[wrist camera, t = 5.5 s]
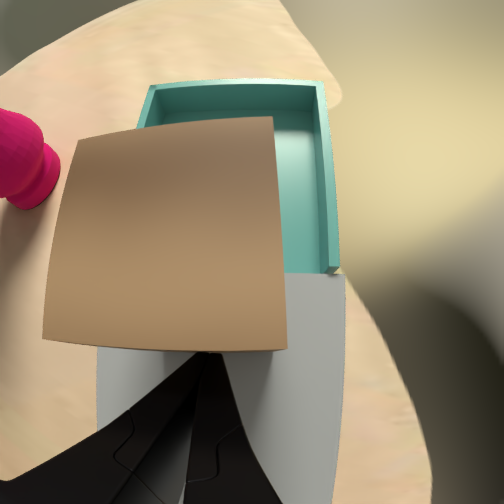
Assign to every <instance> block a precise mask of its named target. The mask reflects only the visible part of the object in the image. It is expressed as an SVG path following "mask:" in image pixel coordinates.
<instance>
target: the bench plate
mask: <svg viewBox="0 0 504 504" xmlns="http://www.w3.org/2000/svg"><path fill="white" fill-rule="evenodd" d="M284 279H285V298H286V320H287V344H288V349H285V350H280V351H274V352H247V353H221V354H222V355H223V358H224V361H225V365H226V368H227V372H228V375H229V379H230V382H231V386H232V389H233V392H234V396H235V399H236V402H237V406H238V409H239V412H240V415H241V419H242V422H243V425H244V428H245V431H246V434H247V437H248V439H249V442H250V445H251V447H252V449H253V451H254V453H255V455H256V457H257V459H258V461H259V463H260V465H261V467H262V469H263V470H264V472H265V474H266V476H267V477H268V479H269V481H270V483H271V484H272V486H273V488H274V489H275V491H276V493H277V495H278V496H279V498H280V500H281V501H282V503H283V504H331V503H332V496H333V489H334V482H335V475H336V467H337V458H338V449H339V439H340V429H341V416H342V403H343V386H344V364H345V274H311V273H284ZM194 354H195V353H188V352H159V351H144V350H131V349H119V348H109V347H99V346H98V350H97V431H99V430H100V429H102V428H103V427H105V426H106V425H108V424H109V423H110V422H112V421H113V420H114V419H116V418H117V417H118V416H120V415H121V414H122V413H123V412H125V411H126V410H129V408H130V407H132V406H133V405H134V404H135V403H136V402H138V401H139V400H140V399H141V398H143V397H144V396H145V395H146V394H147V393H149V392H150V391H151V390H152V389H153V388H155V387H156V386H157V385H158V384H160V383H161V382H162V381H163V380H164V379H166V378H167V377H168V376H169V375H170V374H171V373H173V372H174V371H175V370H176V369H177V368H179V367H180V366H181V365H182V364H183V363H184V362H186V361H187V360H188V359H189V358H190V357H192V356H193V355H194ZM185 484H186V481H185ZM185 484H184V487H183V491H182V494H181V497H180V500H179V504H183V498H184V489H185Z"/></svg>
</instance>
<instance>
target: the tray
mask: <svg viewBox="0 0 504 504" xmlns="http://www.w3.org/2000/svg"><path fill="white" fill-rule="evenodd" d="M268 116H273V127H274V138H275V149H276V161H277V174H278V187H279V200H280V214H281V229H282V245H283V261H284V273H311V274H333V273H334V272H335V271H336V270H337V269H338V268H339V267H340V258H339V233H338V215H337V200H336V187H335V175H334V164H333V154H332V145H331V136H330V128H329V119H328V112H327V104H326V97H325V90H324V84H323V81H311V80H294V79H216V80H199V81H187V82H176V83H166V84H158V85H150V87H149V90H148V93H147V96H146V99H145V102H144V105H143V108H142V111H141V114H140V118H139V121H138V124H137V128H136V129H139V128H145V127H152V126H159V125H166V124H174V123H183V122H192V121H202V120H214V119H227V118H243V117H268Z"/></svg>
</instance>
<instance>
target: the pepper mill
mask: <svg viewBox="0 0 504 504" xmlns="http://www.w3.org/2000/svg"><path fill="white" fill-rule="evenodd" d="M59 172H60V159H59V157H58V155H57V154H56V152H55V151H54V150H53V149H52V148H51V147H50V146H49V145H48V144H46V143H44V138H43V133H42V131H41V129H40V128H39V126H38V125H37V124H35V123H34V122H33V121H32V120H31V119H29V118H28V117H26V116H24V115H22V114H19V113H15V112H11V111H7V110H4V109H1V108H0V198H5V197H6V199H7V200H8V201H9V202H11V203H12V204H14V205H15V206H17V207H18V208H20V209H23V210H26V209H31V208H33V207H35V206H37V205H39V204H40V203H41V202H42V201H43V200H44V199H46V197H47V196H48V195H49V194H50V192H51V191H52V189H53V187H54V186H55V184H56V182H57V179H58V176H59Z"/></svg>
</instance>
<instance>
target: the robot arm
mask: <svg viewBox="0 0 504 504" xmlns="http://www.w3.org/2000/svg"><path fill="white" fill-rule="evenodd" d="M185 481H186V484H185ZM184 484H185V489H184V498H183V504H283V503H282V501H281V500H280V498H279V496H278V495H277V493H276V491H275V489H274V488H273V486H272V484H271V483H270V481H269V479H268V477H267V476H266V474H265V472H264V470H263V469H262V467H261V465H260V463H259V461H258V459H257V457H256V455H255V453H254V451H253V449H252V447H251V445H250V442H249V439H248V437H247V434H246V431H245V428H244V425H243V422H242V419H241V415H240V412H239V409H238V406H237V402H236V399H235V396H234V392H233V389H232V386H231V382H230V379H229V375H228V372H227V368H226V365H225V361H224V358H223V355H222V354H221V353H213V352H211V353H209V352H196V353H195V354H194V355H193V356H192V357H190V358H189V359H188V360H187V361H186V362H184V363H183V364H182V365H181V366H180V367H179V368H177V369H176V370H175V371H174V372H173V373H171V374H170V375H169V376H168V377H167V378H166V379H164V380H163V381H162V382H161V383H160V384H158V385H157V386H156V387H155V388H153V389H152V390H151V391H150V392H149V393H147V394H146V395H145V396H144V397H143V398H141V399H140V400H139V401H138V402H136V403H135V404H134V405H133V406H132V407H130V408H129V410H126V411H125V412H123V413H122V414H121V415H120V416H118V417H117V418H116V419H114V420H113V421H112V422H110V423H109V424H108V425H106V426H105V427H103V428H102V429H100V430H99V431H97V432H95V433H94V434H92V435H91V436H89V437H87V438H86V439H84V440H82V441H81V442H79V443H77V444H76V445H74V446H72V447H70V448H69V449H67V450H65V451H64V452H62V453H60V454H58V455H57V456H55V457H53V458H51V459H50V460H48V461H46V462H44V463H42V464H41V465H39V466H37V467H35V468H33V469H31V470H30V471H28V472H26V473H24V474H22V475H20V476H18V477H16V478H14V479H12V480H9V481H3V480H0V504H179V500H180V497H181V494H182V491H183V487H184Z"/></svg>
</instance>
